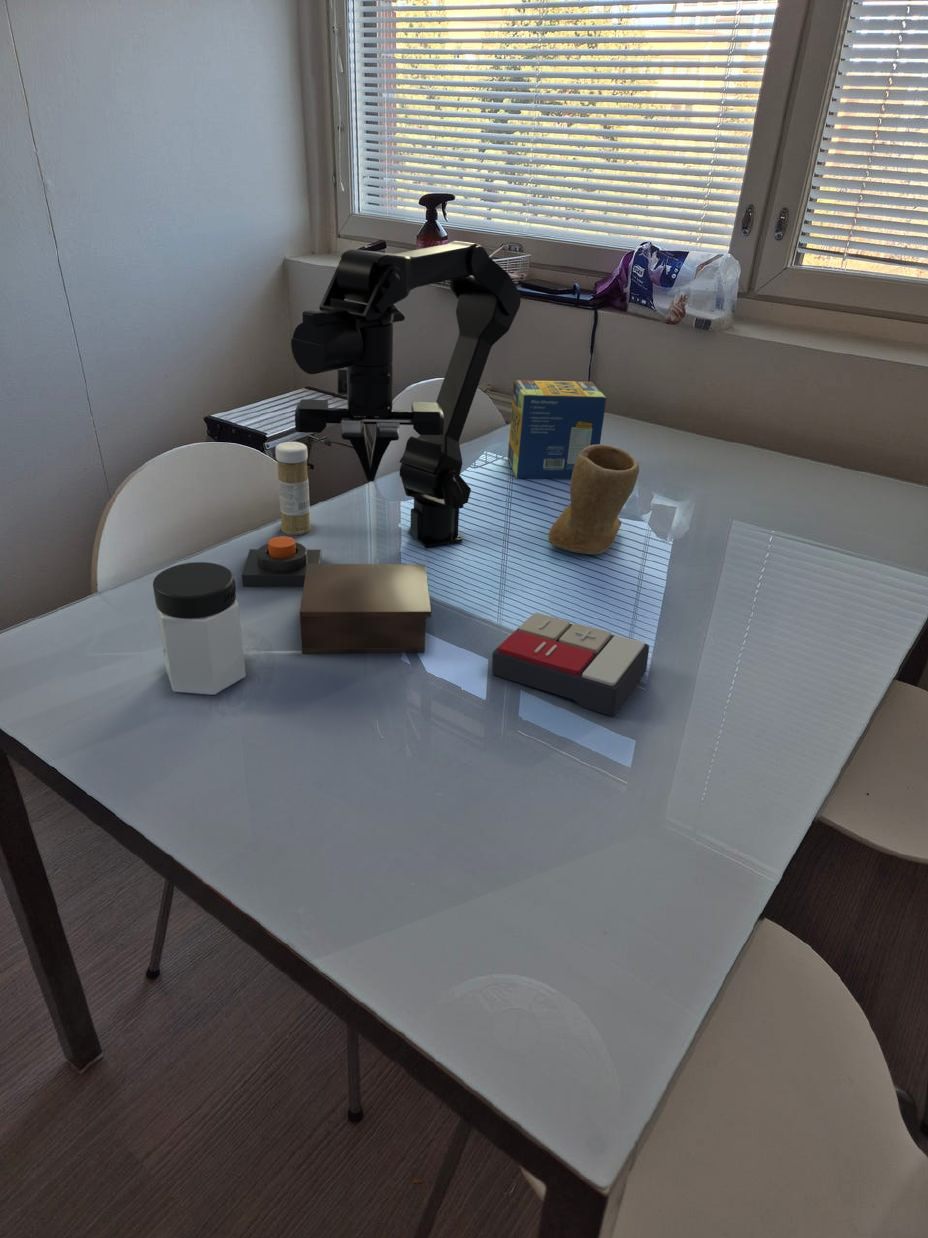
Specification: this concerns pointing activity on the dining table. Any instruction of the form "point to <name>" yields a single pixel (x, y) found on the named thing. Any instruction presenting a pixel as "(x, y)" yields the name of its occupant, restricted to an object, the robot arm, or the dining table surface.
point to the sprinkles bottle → (293, 487)
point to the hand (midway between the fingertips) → (370, 480)
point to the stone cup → (595, 500)
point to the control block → (278, 567)
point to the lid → (365, 591)
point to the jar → (199, 627)
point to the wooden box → (362, 634)
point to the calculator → (572, 662)
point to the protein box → (553, 426)
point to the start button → (281, 547)
